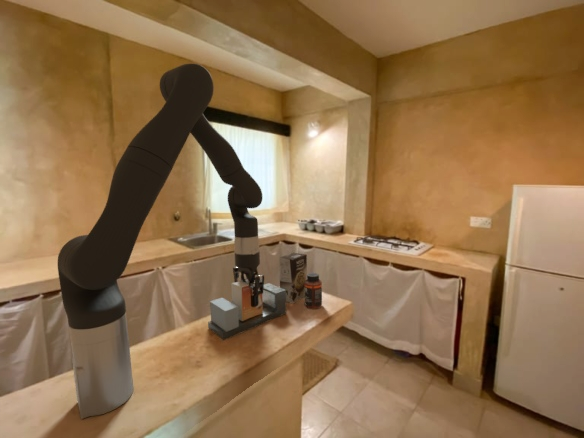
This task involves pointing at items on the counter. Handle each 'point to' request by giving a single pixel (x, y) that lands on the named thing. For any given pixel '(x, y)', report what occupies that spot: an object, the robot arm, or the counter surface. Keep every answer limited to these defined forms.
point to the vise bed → (271, 309)
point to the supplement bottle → (313, 291)
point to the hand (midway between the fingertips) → (249, 302)
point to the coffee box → (293, 276)
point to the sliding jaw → (224, 314)
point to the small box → (245, 301)
